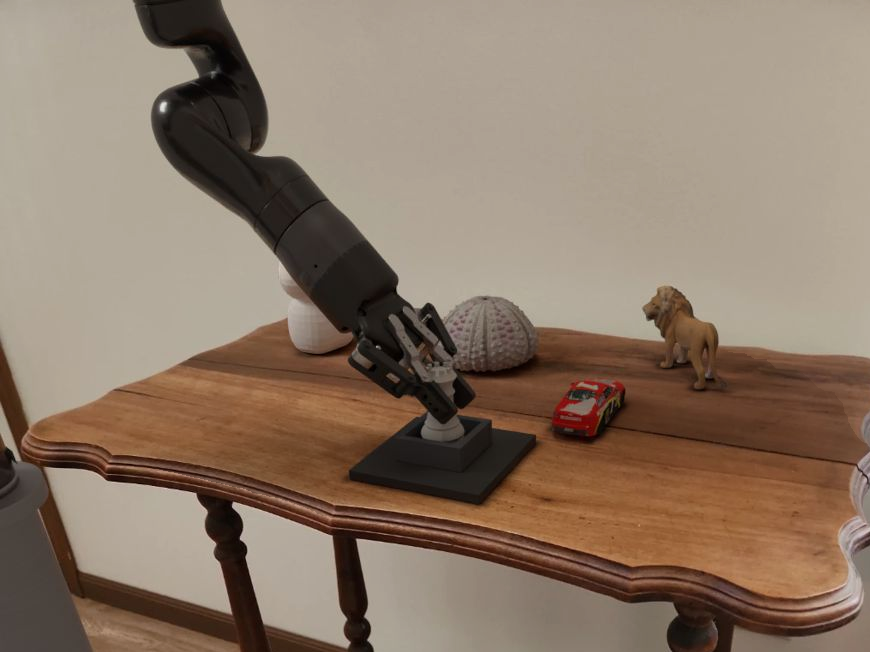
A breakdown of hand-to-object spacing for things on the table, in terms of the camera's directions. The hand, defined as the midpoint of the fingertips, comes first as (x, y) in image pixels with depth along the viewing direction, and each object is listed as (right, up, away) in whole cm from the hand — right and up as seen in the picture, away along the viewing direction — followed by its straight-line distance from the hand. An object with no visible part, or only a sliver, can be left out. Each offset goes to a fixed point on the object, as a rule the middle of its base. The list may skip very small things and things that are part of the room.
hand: (459, 409), depth 77 cm
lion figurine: (+27, +9, +21) cm, 35 cm away
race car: (+14, +1, +11) cm, 18 cm away
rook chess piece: (-2, -3, +3) cm, 5 cm away
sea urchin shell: (+4, +12, +27) cm, 30 cm away
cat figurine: (-18, +17, +36) cm, 44 cm away
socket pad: (-1, -4, +4) cm, 6 cm away
